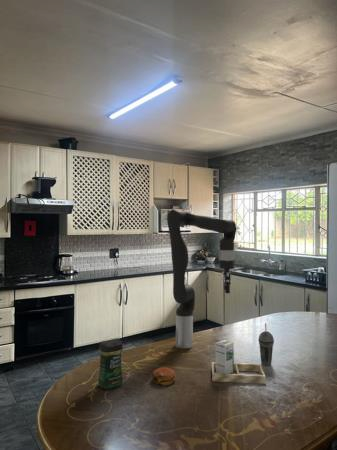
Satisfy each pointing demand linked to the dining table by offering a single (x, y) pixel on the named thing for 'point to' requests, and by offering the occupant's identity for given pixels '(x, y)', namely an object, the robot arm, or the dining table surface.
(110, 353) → the coffee jar
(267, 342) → the beverage cup
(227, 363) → the syrup box
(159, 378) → the burger
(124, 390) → the dining table surface
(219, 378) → the wooden frame
